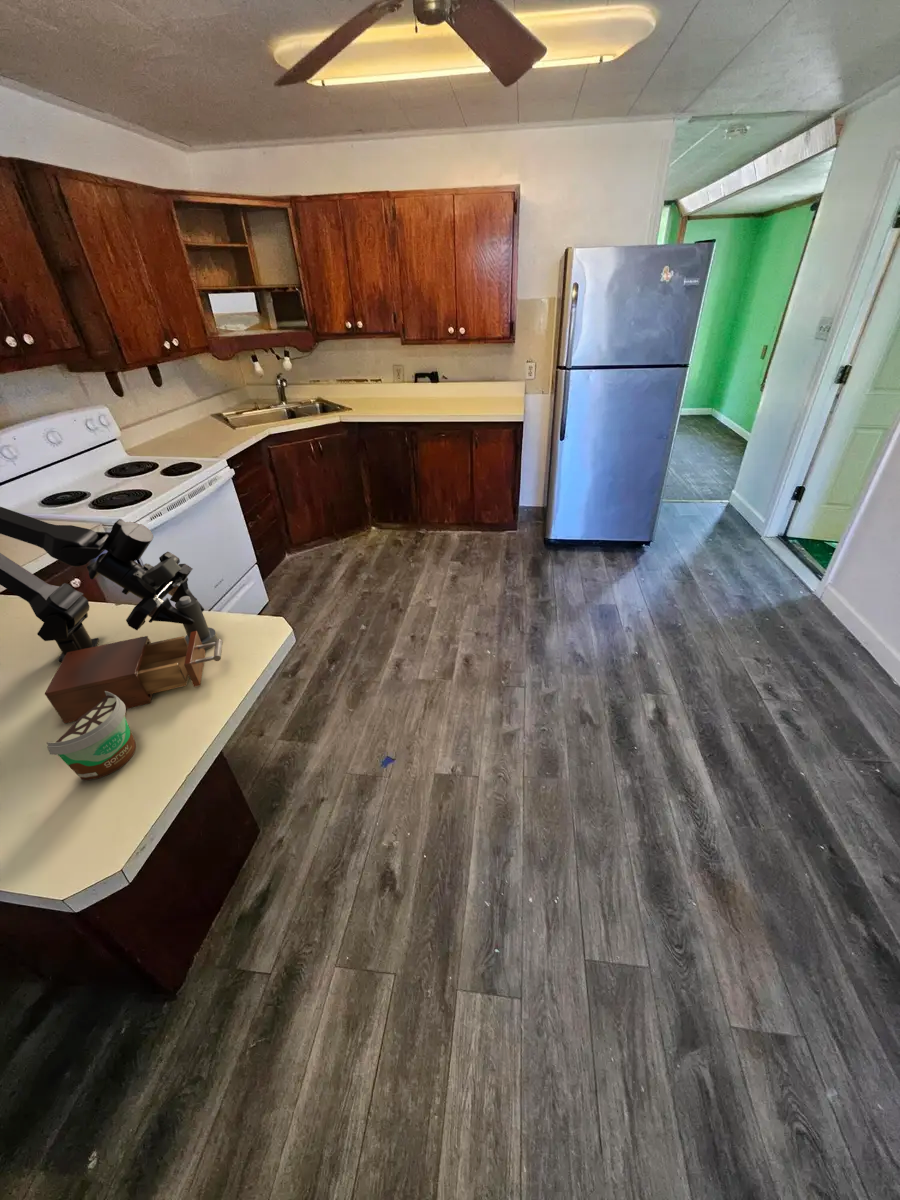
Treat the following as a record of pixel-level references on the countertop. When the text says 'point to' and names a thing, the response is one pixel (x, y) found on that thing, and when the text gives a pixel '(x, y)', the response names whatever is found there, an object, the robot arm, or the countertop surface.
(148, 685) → the drawer
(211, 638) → the disc
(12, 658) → the countertop surface
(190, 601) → the pepper mill
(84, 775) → the food container
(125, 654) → the cabinet
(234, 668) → the countertop surface
